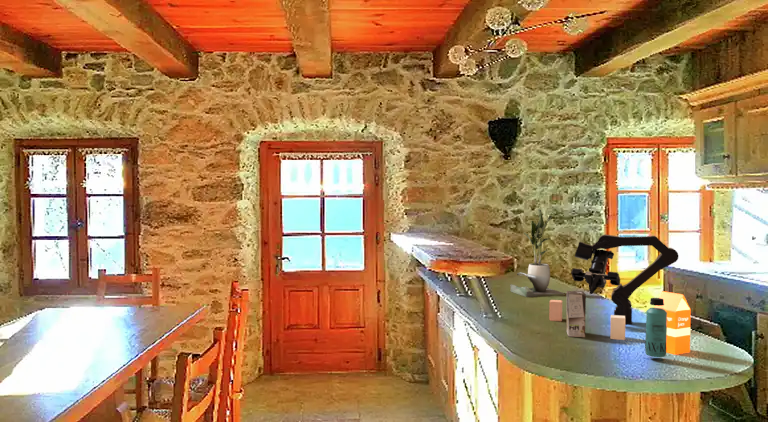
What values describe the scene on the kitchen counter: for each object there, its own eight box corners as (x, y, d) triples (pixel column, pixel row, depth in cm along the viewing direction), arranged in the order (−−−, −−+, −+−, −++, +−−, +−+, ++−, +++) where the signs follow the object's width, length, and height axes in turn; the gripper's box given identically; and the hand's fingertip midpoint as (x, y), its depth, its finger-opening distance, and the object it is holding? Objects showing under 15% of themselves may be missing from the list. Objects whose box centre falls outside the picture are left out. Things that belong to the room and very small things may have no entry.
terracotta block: (562, 319, 273) (562, 300, 272) (561, 321, 268) (561, 302, 268) (550, 318, 274) (550, 299, 274) (549, 320, 269) (549, 301, 269)
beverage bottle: (641, 356, 211) (642, 296, 210) (660, 356, 211) (661, 296, 211) (651, 362, 204) (651, 300, 204) (671, 361, 205) (671, 299, 204)
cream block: (624, 337, 239) (624, 315, 239) (625, 340, 235) (625, 318, 234) (610, 336, 241) (610, 314, 241) (610, 338, 236) (610, 317, 236)
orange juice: (674, 354, 213) (675, 295, 213) (652, 349, 221) (653, 291, 221) (690, 352, 217) (691, 293, 216) (668, 346, 225) (669, 289, 224)
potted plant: (526, 297, 328) (527, 209, 327) (510, 291, 346) (510, 208, 345) (564, 295, 334) (565, 209, 332) (546, 289, 352) (547, 208, 350)
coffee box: (585, 337, 238) (586, 294, 238) (567, 336, 240) (568, 293, 239) (583, 332, 247) (583, 290, 247) (565, 331, 249) (566, 290, 248)
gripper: (625, 276, 266) (618, 307, 258) (580, 272, 276) (572, 302, 268) (621, 260, 259) (613, 291, 250) (575, 256, 269) (566, 286, 261)
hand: (590, 293), depth 258 cm, fingers closed
